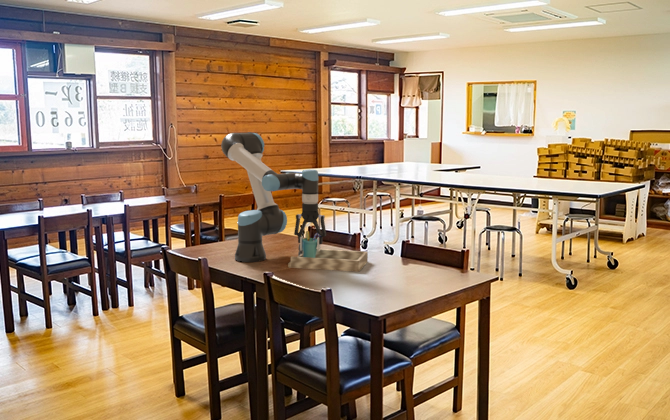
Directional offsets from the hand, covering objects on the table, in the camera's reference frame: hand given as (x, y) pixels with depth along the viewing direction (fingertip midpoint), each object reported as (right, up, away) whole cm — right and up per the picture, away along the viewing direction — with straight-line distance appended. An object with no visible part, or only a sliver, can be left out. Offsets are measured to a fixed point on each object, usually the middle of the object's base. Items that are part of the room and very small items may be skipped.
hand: (310, 250), depth 297 cm
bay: (+9, -7, -1) cm, 11 cm away
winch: (-3, -4, +18) cm, 19 cm away
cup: (0, -6, +1) cm, 6 cm away
